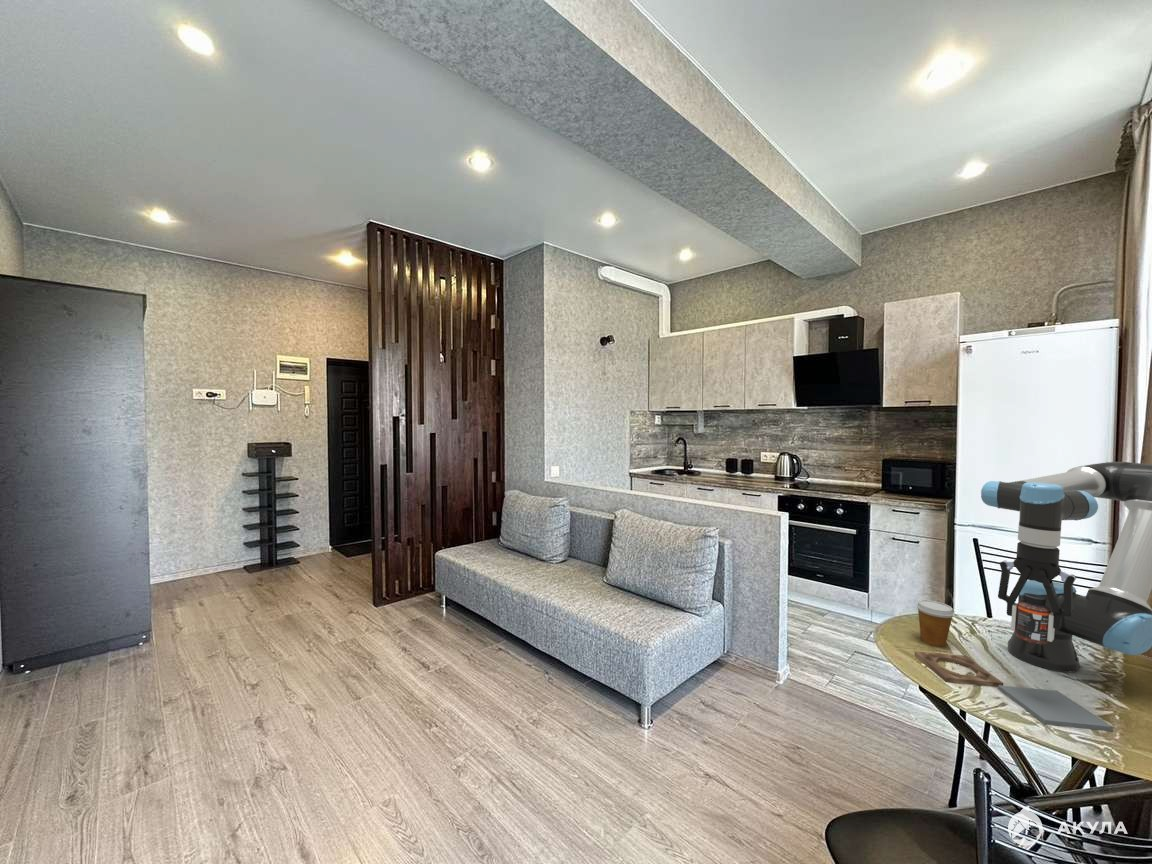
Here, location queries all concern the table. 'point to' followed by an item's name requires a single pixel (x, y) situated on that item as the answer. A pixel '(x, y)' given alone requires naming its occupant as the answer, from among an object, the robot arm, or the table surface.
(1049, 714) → the slate pad
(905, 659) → the table surface
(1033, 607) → the supplement bottle
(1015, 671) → the table surface
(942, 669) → the socket board
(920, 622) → the disposable coffee cup
